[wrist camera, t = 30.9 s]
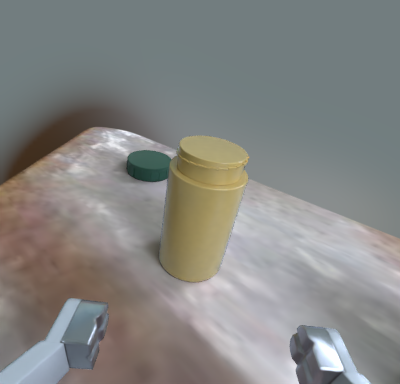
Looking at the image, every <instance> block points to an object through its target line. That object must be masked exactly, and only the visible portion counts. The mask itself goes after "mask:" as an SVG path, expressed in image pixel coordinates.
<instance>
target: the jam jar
mask: <svg viewBox="0 0 400 384" xmlns="http://www.w3.org/2000/svg"><path fill="white" fill-rule="evenodd" d="M176 154H177V156H175V157H174V158H173V159H172V160H171V161H170V164H169V172H168V180H167V189H166V197H165V206H164V214H163V223H162V231H161V240H160V248H159V259H160V262H161V264H162V266H163V268H164V269H165V270H166V271H167V272H168V273H169V274H170V275H172V276H174V277H175V278H178V279H180V280H183V281H188V282H200V281H205V280H208V279H210V278H211V277H213V276H214V275H215V274H216V273H217V272H218V271H219V269H220V267H221V264H222V261H223V258H224V255H225V252H226V249H227V246H228V242H229V239H230V236H231V233H232V230H233V227H234V223H235V220H236V217H237V214H238V211H239V208H240V204H241V201H242V198H243V195H244V192H245V189H246V186H247V182H248V175H247V173H246V171H245V170H244V167H245V165H246V164H247V163H248V159H249V156H248V154H247V153H246V151H245V150H244V149H243V148H241V147H240V146H238V145H236V144H234V143H232V142H230V141H227V140H223V139H220V138H215V137H210V136H189V137H185V138H183V139H182V140H181V141H180V143H179V148H178V149H177V151H176Z"/></svg>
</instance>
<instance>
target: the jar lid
mask: <svg viewBox="0 0 400 384" xmlns="http://www.w3.org/2000/svg"><path fill="white" fill-rule="evenodd" d="M170 161H171V158H170V157H169V156H167V155H165V154H163V153H160V152H156V151H149V150H142V151H136V152H133V153H131V154H129V156H128V161H127V170H128V173H129V174H130V175H131V176H132V177H134V178H136V179H139V180H142V181H150V182H155V181H161V180H164V179H167V178H168V172H169V164H170Z"/></svg>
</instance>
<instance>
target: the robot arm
mask: <svg viewBox="0 0 400 384" xmlns="http://www.w3.org/2000/svg"><path fill="white" fill-rule="evenodd" d="M107 310H108V303H107V302H98V301H90V300H83V299H74V298H69V299H68V300H67V301H66V302H65V304H64V305H63V307H62V309H61V311H60V313H59V314H58V316H57V318H56V320H55V322H54V324H53V325H52V327H51V329H50V331H49V333H48V335H47V336H46V338H45V340H44V341H39V342H38V343H36V344H35V345H34V346H32V347H31V348H30V349H29V350H27V351H26V352H25V353H23V354H22V355H21V356H20V357H18V358H17V359H16V360H15V361H13V362H12V363H11V364H9V365H8V366H7V367H6V368H4V369H3V370H2V371H0V384H57V383H58V381H59V380H60V379H61V378H62V377H63V376H64V375H65V374H66V373H67V372H68V371H69V370H70V369H69V368H77V369H92V370H93V367H94V364H95V362H96V359H97V356H98V353H99V342H100V341H101V340H102V339H104V336H105V333H106V329H107V325H108V319H109V314H108V313H107ZM297 332H298V333H296V334H294V335H293V336H292V337H291V339H290V352H291V356H292V359H293V360H294V361H295V363H296V364H297V368H296V374H297V377H298V381H299V384H371V383H370V382H369V381H368V380H367V379H366V378H365V377H364V376H363V375H362V374H358V372H357V369H356V367H355V365H354V363H353V361H352V359H351V357H350V355H349V353H348V351H347V348H346V346H345V344H344V342H343V340H342V338H341V336H340V334H339V332H338V331H337V330H336V329H332V328H323V327H315V326H305V325H301V326H299V327H298V328H297Z"/></svg>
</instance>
